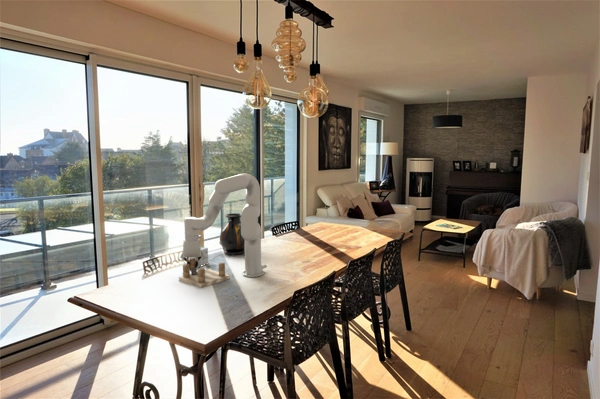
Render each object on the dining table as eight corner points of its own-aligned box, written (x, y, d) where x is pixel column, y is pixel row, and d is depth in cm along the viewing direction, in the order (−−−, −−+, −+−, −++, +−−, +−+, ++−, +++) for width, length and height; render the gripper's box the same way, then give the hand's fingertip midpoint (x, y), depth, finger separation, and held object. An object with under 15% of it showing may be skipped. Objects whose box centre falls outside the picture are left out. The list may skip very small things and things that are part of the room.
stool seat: (207, 272, 233) (207, 257, 232) (229, 278, 221) (229, 263, 220) (179, 280, 218) (178, 265, 217) (200, 288, 206) (199, 271, 204)
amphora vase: (245, 257, 267) (244, 217, 263) (215, 256, 270) (214, 216, 267) (253, 249, 288) (252, 212, 284) (226, 248, 291) (225, 212, 288)
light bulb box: (201, 262, 255) (200, 246, 254) (208, 263, 252) (208, 247, 250) (189, 266, 246) (188, 249, 245) (196, 267, 243) (196, 251, 241)
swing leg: (189, 269, 232) (188, 258, 231) (195, 268, 233) (195, 257, 232) (191, 275, 220) (190, 263, 219) (197, 274, 221) (197, 263, 221)
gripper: (205, 235, 234) (206, 265, 236) (177, 237, 229) (178, 267, 232) (206, 238, 227) (207, 268, 229) (176, 240, 222) (177, 270, 224)
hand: (192, 267), depth 230 cm, fingers closed on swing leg, 3 cm apart
